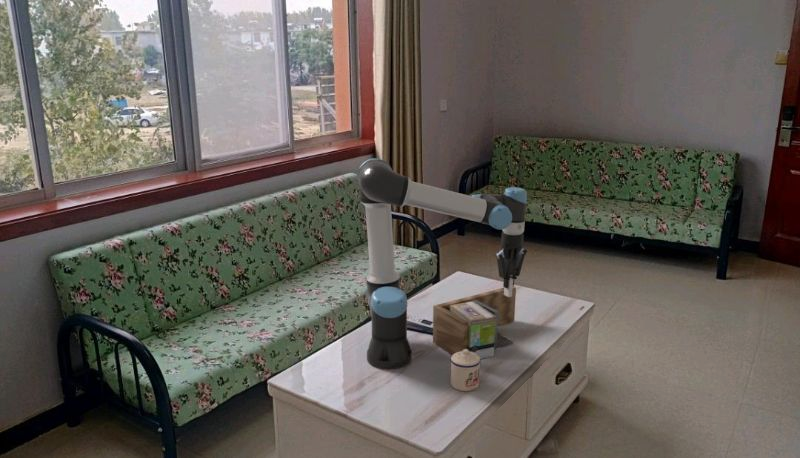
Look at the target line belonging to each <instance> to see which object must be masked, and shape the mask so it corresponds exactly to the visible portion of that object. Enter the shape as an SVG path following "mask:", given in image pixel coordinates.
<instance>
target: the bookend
mask: <svg viewBox="0 0 800 458" xmlns="http://www.w3.org/2000/svg"><path fill="white" fill-rule="evenodd" d="M474 302H475V303H477V304H478V305H480V306H481V307H483V308H484V309H486V310H487V311H489V312H490V313H492V314H493V315H494V316H496V322H495V341H494V351H495V350H498V349H501V348H504V347H508V346H511V345H514V343H515V342H514V341H513V340H511V339H510V338H508V337H506V336H504V335H502V334H501V333H499V330H498V327H499V326H498V311H497V310H495V309H493V308H491V307H489V306H487V305H485V304H483V303H481V302H479V301H477V300H474Z"/></svg>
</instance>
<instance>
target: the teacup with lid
mask: <svg viewBox="0 0 800 458" xmlns="http://www.w3.org/2000/svg"><path fill="white" fill-rule="evenodd" d="M481 361H482V359H480V357H479V356H478V355H477V354H475V353H473V352H469V350H468V349H464V350H463V351H460V352H456V353H454V354H453V355H451V356H450V363H451V366H450V367H451V369H450V384H451V386H452V388H454V389H456V390H458V391H461V392H471V391H474V390H476V389H478V387H479V386H480V369H481V368H480V365H481Z"/></svg>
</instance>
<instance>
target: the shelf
mask: <svg viewBox="0 0 800 458" xmlns="http://www.w3.org/2000/svg"><path fill="white" fill-rule="evenodd" d="M516 294H517V287H516V286H515V285H514V286H513V289H512V297H507V296H505V295H504V287H501V288H497V289H492V290H489V291H487V292H483V293H479V294H474V295H470V296H467V297H462V298H457V299H454V300H451V301H447V302H442V303H440V304H439V303H438V304H436V305H433V309H432V310H433V312H432V343H433V344H434V345H436V346H437V347H439V348H441V350H443V351H444V352H446V353H447V354H450V355H451V356H452V355H453V354H454V353H456V352H460V351H463V350H464V349H467V341H468V322H467V321H466V320H464V319H462V318H460V317H459V316H457V315H455V314H454V313H452V312H450V305H455V304H461V303H467V302H473V301H474V300H477V301H479V302H481V303H483V304H485V305H487V306H489V307H491V308H493V309H495V310H497V311H498V327H502V326H505V325H508V324H511V323H514V322H515V315H516V314H515V313H516Z"/></svg>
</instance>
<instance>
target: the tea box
mask: <svg viewBox="0 0 800 458" xmlns="http://www.w3.org/2000/svg"><path fill="white" fill-rule="evenodd" d="M450 312H452V313H454V314H455V315H457V316H459V317H460V318H462V319H464V320H466V321H467V322H468V341H467V349H468V350H469V352H473V353H475V354H477V355H478V356H479V357H480V360H482V359H487V358H492V357H494V355H495V350H494V341H495V322H496V316H494V315H493V314H492V313H490V312H489V311H487V310H486V309H484V308H483V307H481V306H480V305H478V304H477V303H475V302H474V301H473V302H467V303H461V304H455V305H450Z"/></svg>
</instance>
